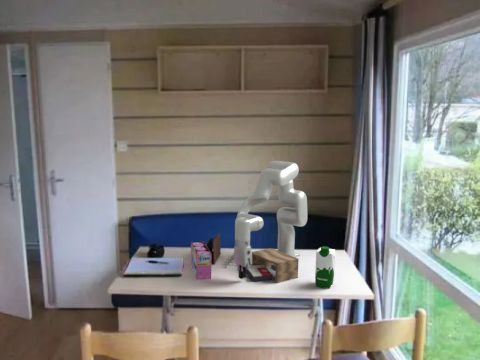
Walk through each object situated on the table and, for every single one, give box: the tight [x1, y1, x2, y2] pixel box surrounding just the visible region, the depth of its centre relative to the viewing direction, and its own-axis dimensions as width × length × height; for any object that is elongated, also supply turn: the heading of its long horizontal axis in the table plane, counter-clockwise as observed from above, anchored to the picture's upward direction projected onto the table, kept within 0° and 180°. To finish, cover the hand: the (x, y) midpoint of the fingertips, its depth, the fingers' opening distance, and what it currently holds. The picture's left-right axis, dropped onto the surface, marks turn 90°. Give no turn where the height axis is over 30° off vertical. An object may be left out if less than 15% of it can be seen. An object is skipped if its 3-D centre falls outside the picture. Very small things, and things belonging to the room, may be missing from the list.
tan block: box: [252, 247, 299, 284], centre depth 244 cm, size 14×22×10 cm, turn 36°
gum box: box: [190, 240, 212, 281], centre depth 246 cm, size 24×8×14 cm, turn 14°
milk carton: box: [314, 245, 336, 290], centre depth 229 cm, size 9×9×20 cm
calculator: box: [246, 265, 274, 283], centre depth 242 cm, size 11×4×15 cm
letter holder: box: [204, 233, 222, 266], centre depth 267 cm, size 10×20×14 cm, turn 172°
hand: (242, 277), depth 233 cm, fingers closed
